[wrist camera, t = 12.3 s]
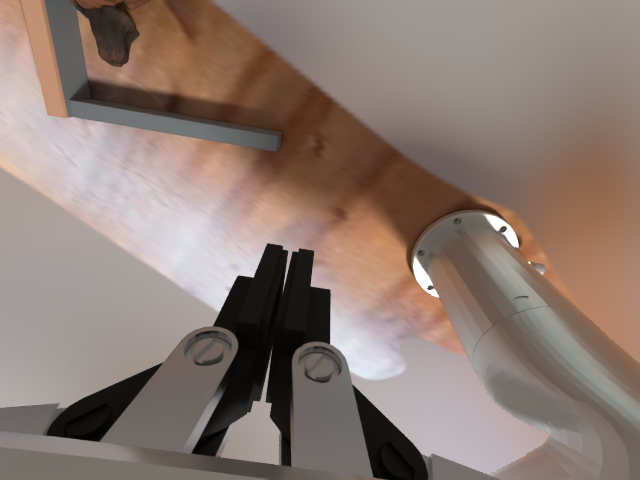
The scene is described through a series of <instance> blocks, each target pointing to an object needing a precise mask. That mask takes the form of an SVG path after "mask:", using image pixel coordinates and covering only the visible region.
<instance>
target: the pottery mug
mask: <svg viewBox="0 0 640 480" xmlns="http://www.w3.org/2000/svg"><path fill="white" fill-rule="evenodd" d="M68 1H69V2H70V3H71V4H72V5H73V6H74V7H75V8H76V9H77V10H79V11H80V12H81V13H82V14H83V15H84V16H85V17H86V18H88V19H89V21H90V25H91V29H92V32H93V35H94V37H95V39H96V43H97V47H98V53H99V55H100V57H101V58H102V59H103V60H105V61H106V62H108V63H109V64H110V65H112V66H117V67H122V66H123V64H125V63H127V62H128V60H129V53H130V46H131V43H132V42H133V41H134V40H135V39H136V38H137V37H139V35H140V34H139V32H138V31H137V30H136V28H135V24H134V22H133V20H132V19H131V18H130V17H129V16H128V14H127V13H125V12H124V11H123V10H121V9H120V8H117V7H114V6H115V5H116V4H117V3H120V2H124V3H125V5H126V6H127V7H128V9H129V10H133V9H135V8H137V7H139V6H141V5H142V4H144V3H147V2H148V1H150V0H68Z"/></svg>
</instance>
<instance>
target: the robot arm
mask: <svg viewBox="0 0 640 480" xmlns="http://www.w3.org/2000/svg"><path fill="white" fill-rule="evenodd" d="M456 218H457V219H456ZM455 219H456V220H455ZM287 256H288V251H287V250H283V246H281V245H275V244H269V243H268V244H267V246H266V248H265V251H264V253H263V256H262V258H261V261H260V263H259V266H258V268H257V270H256V273H255V275H254V278H252V277H245V276H238V277H237V278H236V280H235V282H234V284H233V286H232V288H231V290H230V292H229V294H228V297H227V299H226V301H225V303H224V305H223V307H222V309H221V311H220V313H219V315H218V317H217V319H216V321H215V323H214V325H213V326H212V327H203V328H200V329H197V330H195V331H193V332H191V333H189V334H188V335H187V336H186V337H184V338H183V339H182V340H181V342H180V343H179V344H178V345H177V347H176V348H175V349H174V350H173V351H172V353H171V354H170V355H169V356H168V358H167V359H166V360H165V361H164V362H163V363H161V364H159V365H156V366H154V367H152V368H150V369H147V370H145V371H143V372H141V373H138V374H136V375H134V376H132V377H130V378H127V379H125V380H123V381H121V382H118V383H116V384H114V385H112V386H109V387H107V388H105V389H103V390H101V391H98V392H96V393H94V394H91V395H90V396H87V397H85V398H83V399H81V400H79V401H77V402H75V403H74V404H72V405H70V406H69V407H68V408H61V406H60V404H59V403H58V404H46V405H32V406H20V407H6V408H0V480H640V363H639V362H638V361H636V360H635V359H634V358H633V357H632V356H631V355H629V354H628V353H627V352H626V351H625V350H624V349H623V348H621V347H620V346H619V345H618V344H617V343H615V341H613V340H612V339H611V338H610V337H609V336H608V335H607V334H606V333H605V332H603V331H602V330H601V329H600V328H599V327H598V326H597V325H596V324H595V323H594V322H593V321H592V320H590V319H589V318H588V317H587V316H586V315H585V314H584V313H583V312H582V311H580V310H579V309H578V308H577V307H576V306H575V305H574V304H573V303H572V302H571V301H570V300H569V299H568V298H566V297H565V296H564V295H563V294H562V293H561V292H560V291H559V290H558V289H557V288H556V287H555V286H554V285H552V284H551V283H550V282H549V281H548V280H547V279H546V278H545V277H544V276H543V275H542V274H543V273H544V272H545V266H544V264H541V263H535V262H529V261H528V260H527V259H526V258H525V257H524V256H523V255H521V254H520V253H519V245H518V239H517V236H516V233H515V232H514V230H513V229H512V227H511V226H510V225H509V224H508V223H507V222H506V221H504V220H503V219H502V218H500V217H499V216H497V215H495V214H493V213H490V212H488V211H482V210H463V211H457V212H454V213H451V214H448V215H446V216H444V217H442V218H440V219H438V220H436V221H435V222H434V223H432V224H431V225H430V226H428V227H427V228H426V230H425V231H424V232H423V233H422V234H421V235H420V237H419V238H418V240H417V241H416V243H415V246H414V248H413V251H412V256H411V267H412V270H413V274H414V276H415V278H416V281H417V282H418V283H419V285H420V286H421V287H422V288H423V289H424V290H425V291H426V292H428V293H429V294H431V295H433V296H435V297H438V298H439V299H440V301H441V303H442V305H443V308H444V310H445V312H446V314H447V316H448V318H449V320H450V322H451V324H452V326H453V328H454V330H455V332H456V334H457V336H458V338H459V340H460V342H461V344H462V346H463V348H464V351H465V353H466V355H467V357H468V359H469V361H470V363H471V365H472V367H473V369H474V371H475V373H476V375H477V377H478V379H479V381H480V383H481V384H482V386H483V388H484V389H485V391H486V392H487V394H488V395H489V396H490V398H491V399H492V400H493V401H494V402H495V403H496V404H497V405H498V406H499V407H500V408H502V409H503V410H505V411H506V412H507V413H509V414H510V415H512V416H513V417H515V418H517V419H519V420H521V421H522V422H524V423H526V424H528V425H530V426H533V427H535V428H537V429H539V430H541V431H544V432H546V433H548V434H549V437H548V439H547V441H546V442H545V443H544V444H543V445H541V446H540V447H538V448H536V449H535V450H533V451H532V452H529V453H528V454H527V455H526V456H524V457H523V458H520V459H519V460H517V461H515V462H513V463H511V464H509V465H507V466H505V467H503V468H501V469H499V470H497V471H495V472H493V473H491V474H489V475H487V474H484V473H482V472H479V471H476V470H474V469H471V468H469V467H466V466H463V465H461V464H458V463H455V462H453V461H450V460H448V459H445V458H443V457H440V456H437V455H435V454H431V456H430V457H427V456H424V455H422V454H421V453H420V452H419V451H418V449H417V448H416V447H415V446H414V444H413V443H412V442H411V441H410V440H409V439H408V438H407V437H406V436H405V435H404V434H403V433H402V432H401V431H400V430H399V429H398V428H397V427H395V426H394V425H393V424H392V423H391V422H390V421H389V420H388V419H387V418H386V417H385V416H384V415H383V414H382V413H381V412H380V411H379V410H378V409H377V408H376V407H375V406H374V405H373V404H372V403H371V402H370V401H369V400H368V399H367V398H366V397H365V396H364V395H363V394H362V393H361V392H360V391H359V390H358V389H356V387H355V386H354V385H352V381H351V377H350V373H349V368H348V364H347V361H346V359H345V357H344V355H343V354H342V353H341V352H340V351H339V350H338V349H337V348H335V347H334V346H332V345H330V296H331V293H330V290H329V289H323V288H316V287H310V285H311V276H312V267H313V257H314V251H312V250H306V249H300V248H299V252H292V257H291V261H290V265H289V269H288V274H287V278H286V282H285V286H284V279H285V272H286V264H287ZM283 287H284V291H283ZM282 294H283V295H282ZM271 351H272V355H271ZM270 356H271V363H270V371H269V379H268V387H267V395H266V402H267V403H272V405H271V412H270V418H271V419H272V421H273V422H274V423H275V425H276V426H277V427H278V429H279V430H280V435H279V465H273V464H266V463H259V462H251V461H243V460H236V459H235V460H234V459H228V458H220V457H221V454H222V452H223V450H224V448H225V446H226V443H227V441H228V439H229V436H230V434H231V432H232V429H233V426H234V422H235V421H237V420H238V419H240V418H241V417H243V416H244V415H246V414H247V412H251V408H252V404H253V401H260V399H261V395H262V391H263V386H264V382H265V377H266V373H267V369H268V364H269V360H270Z"/></svg>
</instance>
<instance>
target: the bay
mask: <svg viewBox="0 0 640 480" xmlns="http://www.w3.org/2000/svg"><path fill="white" fill-rule="evenodd" d="M21 2H22V7H23V11H24V15H25V19H26V24H27V28H28V32H29V37H30V41H31V45H32V50H33V54H34V58H35V63H36V67H37V71H38V76H39V80H40V84H41V88H42V93H43V97H44V101H45V106H46V110H47V114H48V115H51V116H57V117H63V118H68V117H77V118H83V119H88V120H94V121H100V122H106V123H112V124H117V125H123V126H129V127H135V128H141V129H146V130H152V131H158V132H164V133H170V134H175V135H181V136H187V137H193V138H199V139H204V140H210V141H216V142H222V143H227V144H233V145H239V146H245V147H251V148H256V149H262V150H268V151H274V152H276V151H277V150H278V149H279V147H280V145H281V135H282V132H279V131H274V130H268V129H262V128H256V127H251V126H245V125H239V124H234V123H228V122H222V121H217V120H211V119H205V118H199V117H194V116H188V115H182V114H177V113H171V112H165V111H160V110H154V109H148V108H143V107H137V106H131V105H125V104H120V103H114V102H108V101H103V100H97V99H91V95H90V89H89V83H88V77H87V71H86V65H85V59H84V53H83V47H82V41H81V35H80V29H79V23H78V17H77V12H76V8H75V7H74V6H73V5H72V4H71V3H70V2H69V1H68V0H21Z"/></svg>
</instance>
